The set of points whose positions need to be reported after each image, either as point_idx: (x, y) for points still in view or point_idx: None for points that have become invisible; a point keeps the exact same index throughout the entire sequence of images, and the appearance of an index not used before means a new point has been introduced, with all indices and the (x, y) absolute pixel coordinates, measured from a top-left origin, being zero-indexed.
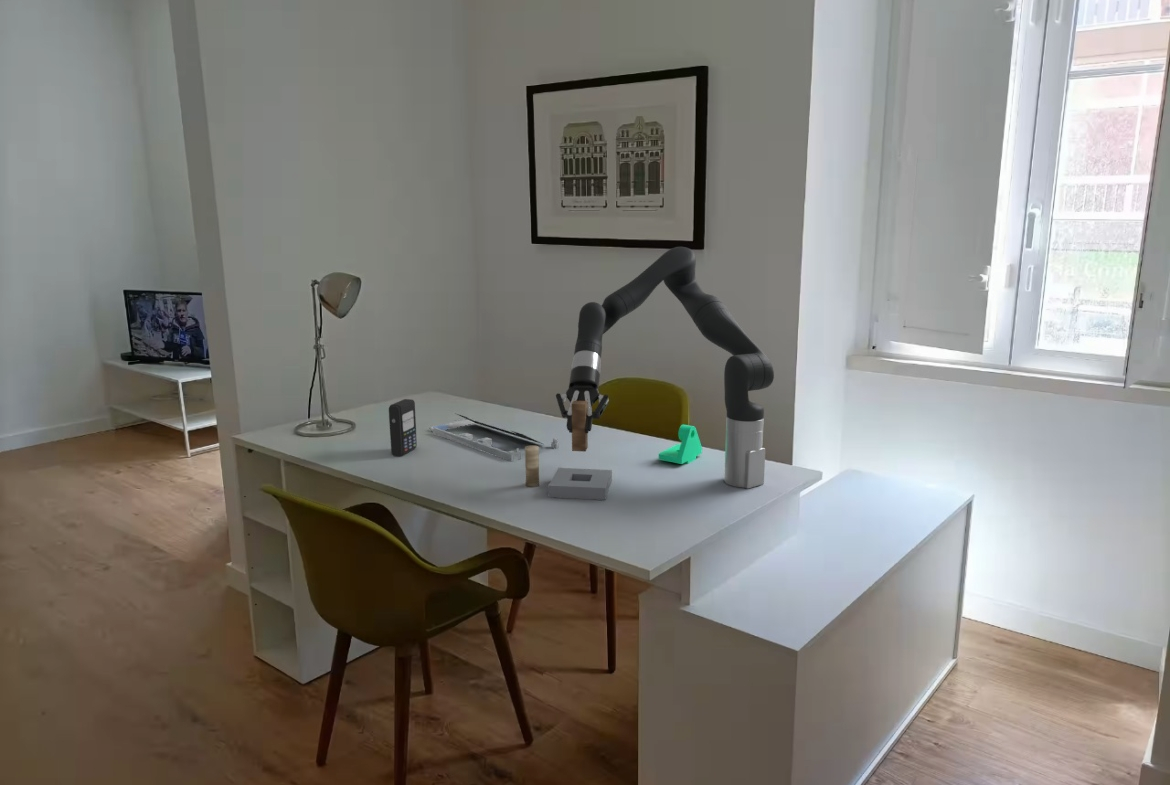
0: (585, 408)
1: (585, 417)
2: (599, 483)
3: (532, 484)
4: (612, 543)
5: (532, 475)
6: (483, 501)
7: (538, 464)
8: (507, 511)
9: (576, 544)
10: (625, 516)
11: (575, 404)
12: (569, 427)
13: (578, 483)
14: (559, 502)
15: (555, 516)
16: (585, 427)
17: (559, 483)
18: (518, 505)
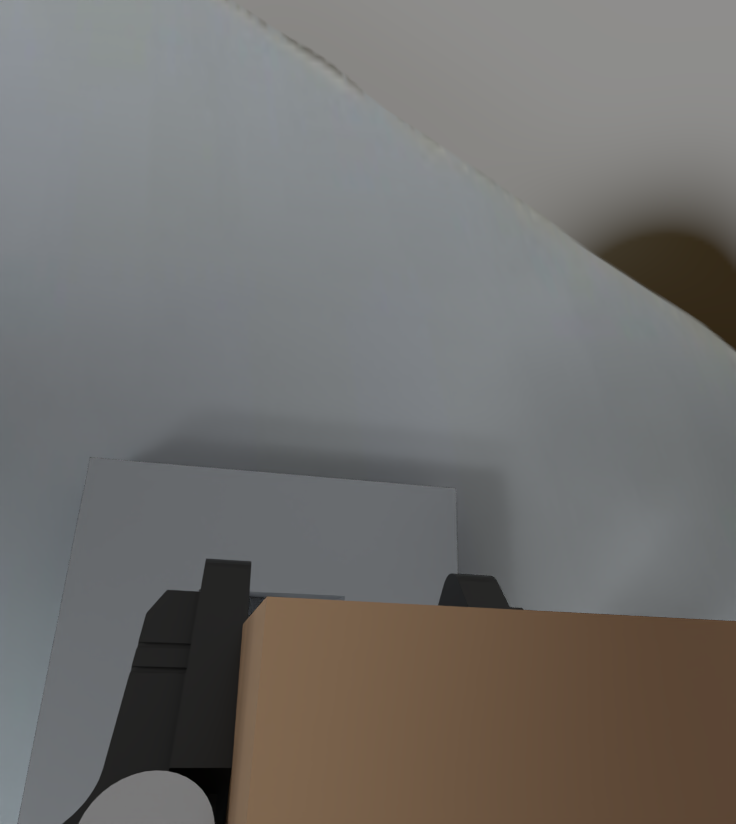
0: (256, 627)
1: (246, 621)
2: (128, 547)
3: None
4: (100, 8)
5: None
6: (704, 434)
7: None
8: (568, 320)
9: (242, 19)
10: (6, 248)
11: (621, 617)
12: (486, 580)
13: (276, 538)
14: (363, 431)
15: (356, 261)
16: (239, 572)
17: (397, 530)
18: (545, 388)
